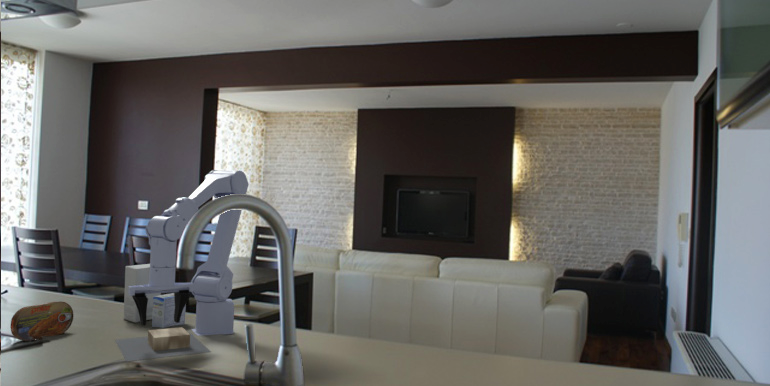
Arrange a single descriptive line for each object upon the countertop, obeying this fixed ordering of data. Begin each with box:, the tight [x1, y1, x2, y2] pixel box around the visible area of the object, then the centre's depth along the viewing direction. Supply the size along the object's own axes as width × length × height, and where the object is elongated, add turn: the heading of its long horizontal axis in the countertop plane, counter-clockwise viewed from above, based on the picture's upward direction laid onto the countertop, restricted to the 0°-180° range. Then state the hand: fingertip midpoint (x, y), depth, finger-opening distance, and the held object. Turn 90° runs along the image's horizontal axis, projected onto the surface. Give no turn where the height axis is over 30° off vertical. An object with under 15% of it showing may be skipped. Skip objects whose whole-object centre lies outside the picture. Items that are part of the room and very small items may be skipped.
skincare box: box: [123, 263, 162, 323], centre depth 163 cm, size 8×7×16 cm
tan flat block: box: [147, 327, 190, 351], centre depth 134 cm, size 3×8×8 cm
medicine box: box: [151, 292, 187, 329], centre depth 155 cm, size 8×4×9 cm, turn 154°
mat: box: [114, 332, 212, 362], centre depth 133 cm, size 18×20×1 cm
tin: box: [10, 301, 74, 342], centre depth 139 cm, size 15×3×8 cm, turn 157°
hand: (160, 323), depth 133 cm, fingers open, 7 cm apart
